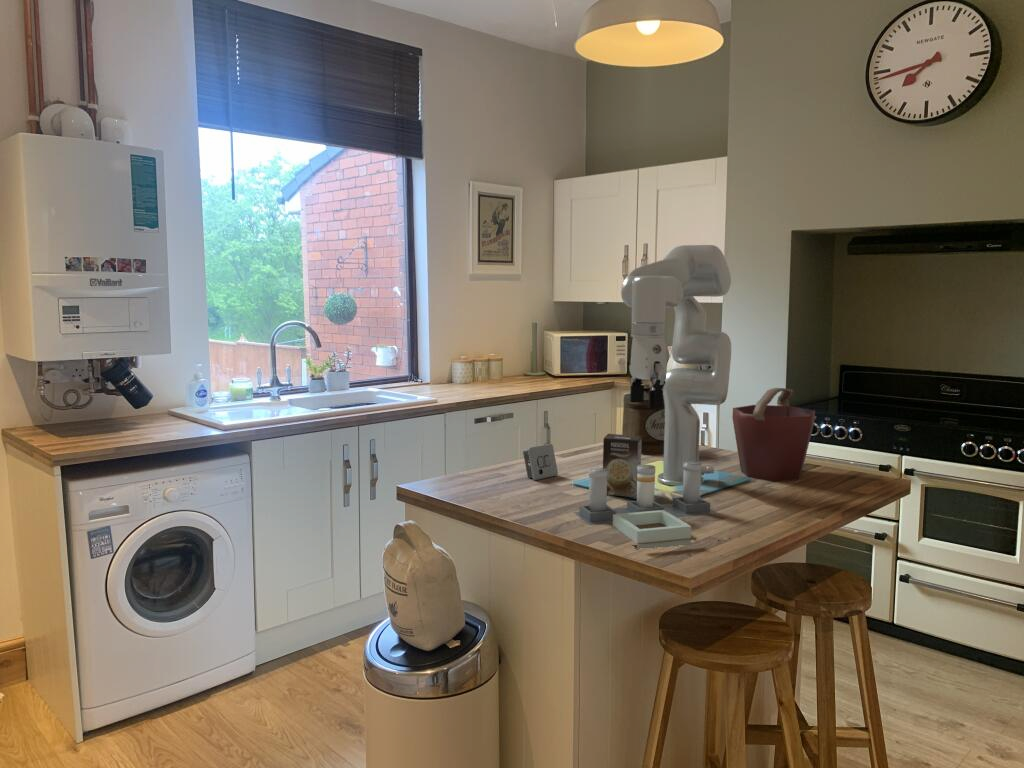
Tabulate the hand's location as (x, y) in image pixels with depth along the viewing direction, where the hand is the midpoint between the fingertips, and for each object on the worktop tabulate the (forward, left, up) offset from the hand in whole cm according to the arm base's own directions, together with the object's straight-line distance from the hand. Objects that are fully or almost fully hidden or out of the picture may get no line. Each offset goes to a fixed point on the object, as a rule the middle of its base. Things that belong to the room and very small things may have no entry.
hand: (645, 404), depth 179 cm
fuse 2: (-12, +1, -25) cm, 28 cm away
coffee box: (-2, -17, -27) cm, 32 cm away
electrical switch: (+11, -44, -27) cm, 53 cm away
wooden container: (-34, -69, -27) cm, 82 cm away
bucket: (-55, -28, -27) cm, 68 cm away
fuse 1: (+12, +1, -25) cm, 28 cm away
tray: (+5, +14, -27) cm, 31 cm away
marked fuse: (0, +1, -25) cm, 25 cm away
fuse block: (0, +1, -27) cm, 27 cm away
